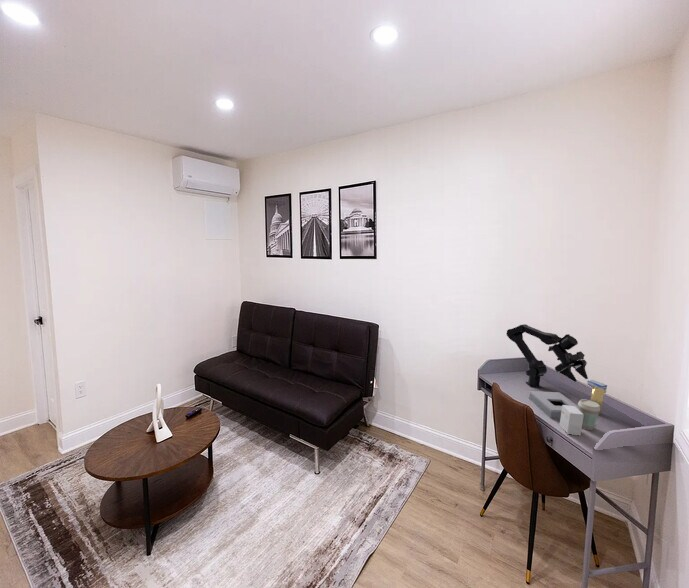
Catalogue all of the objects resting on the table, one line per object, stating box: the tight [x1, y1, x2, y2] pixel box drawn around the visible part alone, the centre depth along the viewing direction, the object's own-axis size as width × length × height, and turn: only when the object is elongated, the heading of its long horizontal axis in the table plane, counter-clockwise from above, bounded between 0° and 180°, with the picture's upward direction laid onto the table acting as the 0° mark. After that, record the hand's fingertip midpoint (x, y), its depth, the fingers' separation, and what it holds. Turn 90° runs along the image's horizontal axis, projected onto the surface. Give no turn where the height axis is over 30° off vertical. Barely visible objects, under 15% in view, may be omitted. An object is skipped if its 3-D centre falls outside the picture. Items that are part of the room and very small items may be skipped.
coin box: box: [528, 390, 579, 420], centre depth 169 cm, size 20×16×4 cm
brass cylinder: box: [589, 387, 605, 416], centre depth 166 cm, size 5×5×13 cm
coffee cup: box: [577, 398, 600, 431], centre depth 153 cm, size 8×8×12 cm
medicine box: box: [586, 379, 608, 393], centre depth 184 cm, size 8×4×9 cm, turn 23°
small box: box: [559, 404, 584, 436], centre depth 149 cm, size 8×6×10 cm
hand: (581, 380), depth 171 cm, fingers open, 9 cm apart
